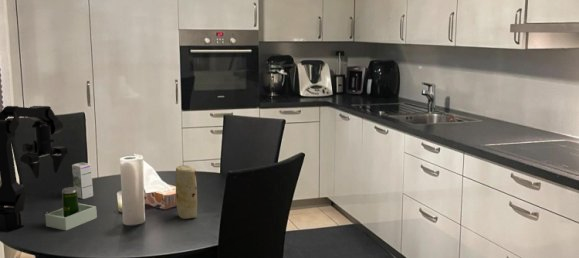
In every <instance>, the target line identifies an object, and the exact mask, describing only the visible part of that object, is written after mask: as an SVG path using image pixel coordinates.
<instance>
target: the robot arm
mask: <svg viewBox="0 0 579 258" xmlns="http://www.w3.org/2000/svg"><path fill="white" fill-rule="evenodd" d="M8 118H12V119H8ZM19 118H28V119H30V120H32V121H34V122H33V124H31V128H32V129H33V128H34V135H35V139H33V140H32V143H31V144H29V142H28V143H22V145H21V146H22V152H24V153H23V154H21V155H20V157H19V158H20V163H23V164H25V165H28V167H29V168H30V169H31V171H32V173H33V175H34V178H36V179H38V178H39V177H40V176H39V175H40V164H41V163H40V161H39V159H42V158H44V157H49V156H50V157H51V159H52V167H53V172H54V173H56V174H57V173H58V172H59V168H60V166H61V164H62V162H63V160H64V158H65V157H66V155H69V149H68V148H67V147H66V146H59V145H58V146H54V147H53V143H54V142H55V139H54V138H52V135H54V134H58V133H60V132H62V131H63V130H64V124H63V122H62V121H61V120H60V119H59V117H58V116H57V115H55V113H54V111H53V109H52V108H51V106H49V105H32V106H29V107H26V106H25V107H24V106H18V105H7V106H5V107H4V108H3V109H2V110H1V111H0V231H3V232H13V231H16V230H17V229H20V228H23V227H24V226H25V225H24V224H22V216H21V214H22V213H21V212H23V211H24V208H25V202H26V201H25V200H26V196H25V195H26V193H25V186H24V184H23V183H22V184H21V183H19V182H18V180H17V174H16V167H15V165H16V164H15V159H14V151H13V146H12V145H13V144H12V143H13V141H14V139H15V137H16V130H17V129H18V127H19V126H20V120H19Z"/></svg>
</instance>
